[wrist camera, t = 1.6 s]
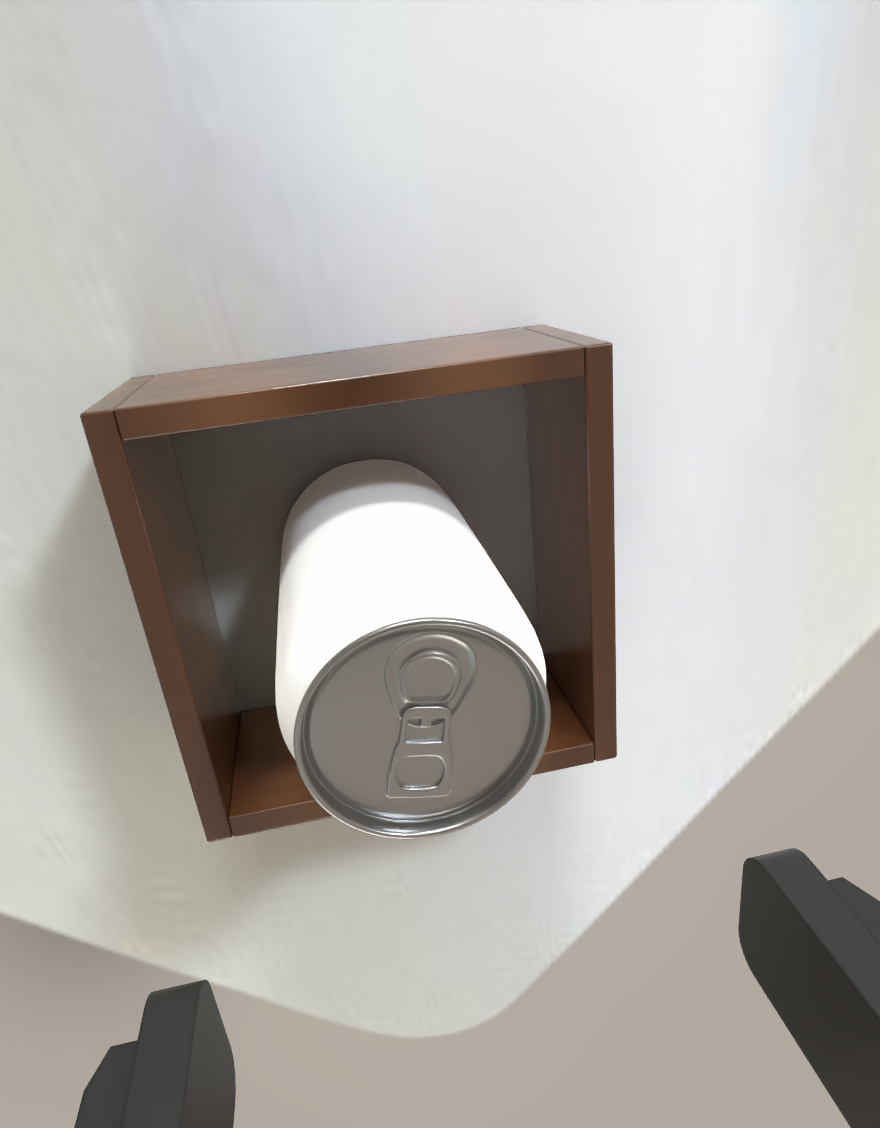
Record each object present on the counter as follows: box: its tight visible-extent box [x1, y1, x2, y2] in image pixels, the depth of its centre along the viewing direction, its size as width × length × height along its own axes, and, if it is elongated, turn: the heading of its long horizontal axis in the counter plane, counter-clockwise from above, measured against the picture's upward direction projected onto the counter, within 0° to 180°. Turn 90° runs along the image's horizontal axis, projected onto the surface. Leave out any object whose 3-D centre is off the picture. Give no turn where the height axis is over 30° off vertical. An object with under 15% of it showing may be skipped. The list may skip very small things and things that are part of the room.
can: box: [275, 459, 551, 839], centre depth 21 cm, size 6×6×12 cm
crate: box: [80, 325, 617, 842], centre depth 24 cm, size 14×14×6 cm
